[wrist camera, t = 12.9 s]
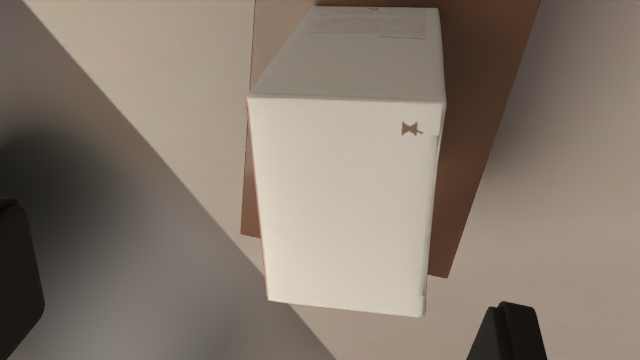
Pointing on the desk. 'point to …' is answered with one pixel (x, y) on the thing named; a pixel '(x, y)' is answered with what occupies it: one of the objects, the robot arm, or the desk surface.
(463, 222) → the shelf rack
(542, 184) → the desk surface
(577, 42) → the desk surface
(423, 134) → the small box
